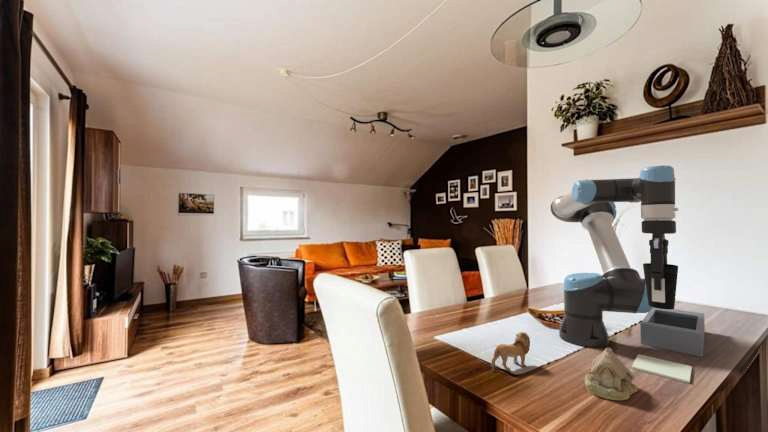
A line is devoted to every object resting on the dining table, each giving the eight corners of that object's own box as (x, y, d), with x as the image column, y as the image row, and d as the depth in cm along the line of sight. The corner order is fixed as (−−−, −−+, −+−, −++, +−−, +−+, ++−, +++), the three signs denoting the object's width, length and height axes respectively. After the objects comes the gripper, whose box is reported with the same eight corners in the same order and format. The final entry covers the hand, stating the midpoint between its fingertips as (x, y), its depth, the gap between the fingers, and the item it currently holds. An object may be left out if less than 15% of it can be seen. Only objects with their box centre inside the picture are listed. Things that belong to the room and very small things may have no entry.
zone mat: (631, 368, 91) (631, 366, 91) (638, 356, 99) (638, 354, 99) (689, 383, 82) (689, 381, 82) (691, 368, 90) (691, 366, 90)
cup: (636, 303, 94) (635, 263, 95) (660, 303, 95) (659, 262, 95) (661, 310, 87) (660, 266, 87) (687, 310, 87) (685, 266, 88)
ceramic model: (587, 371, 89) (587, 335, 90) (638, 384, 82) (637, 345, 82) (579, 392, 79) (578, 351, 79) (636, 408, 71) (635, 364, 72)
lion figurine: (520, 357, 99) (519, 328, 99) (535, 364, 94) (534, 333, 94) (485, 368, 92) (485, 336, 92) (500, 376, 87) (499, 343, 87)
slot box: (640, 343, 109) (640, 323, 109) (653, 323, 131) (652, 306, 131) (702, 357, 98) (702, 334, 98) (704, 331, 120) (704, 313, 120)
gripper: (672, 219, 82) (675, 308, 81) (678, 219, 96) (680, 295, 95) (635, 219, 87) (637, 303, 86) (646, 220, 101) (648, 291, 101)
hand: (660, 299), depth 91 cm, fingers closed on cup, 8 cm apart
